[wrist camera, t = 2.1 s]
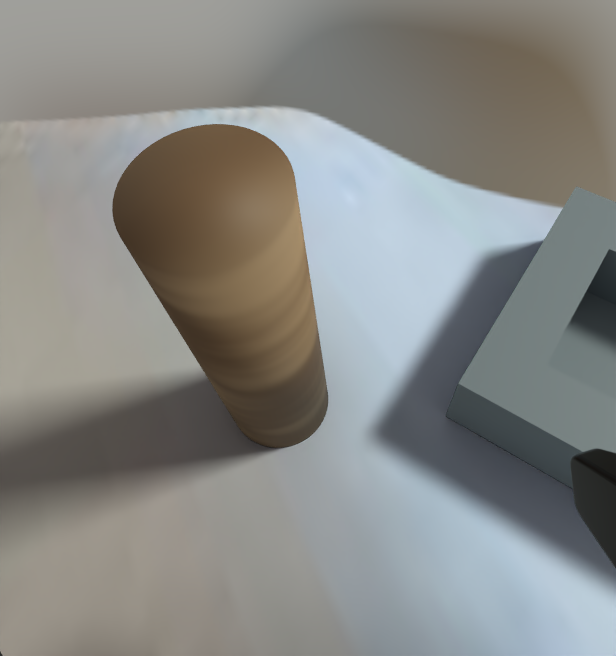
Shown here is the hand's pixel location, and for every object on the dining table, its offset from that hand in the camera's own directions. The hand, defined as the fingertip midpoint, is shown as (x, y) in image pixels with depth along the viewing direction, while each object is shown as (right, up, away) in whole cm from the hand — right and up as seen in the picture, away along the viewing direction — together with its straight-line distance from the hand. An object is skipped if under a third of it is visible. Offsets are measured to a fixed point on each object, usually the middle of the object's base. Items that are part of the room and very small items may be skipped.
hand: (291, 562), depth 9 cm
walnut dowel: (-1, +1, +15) cm, 16 cm away
